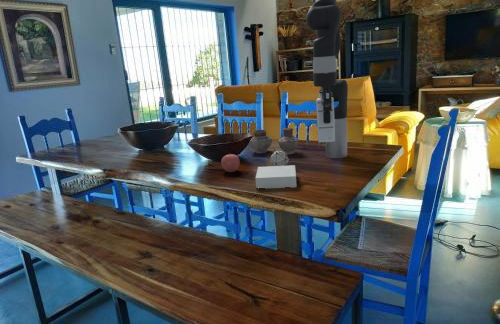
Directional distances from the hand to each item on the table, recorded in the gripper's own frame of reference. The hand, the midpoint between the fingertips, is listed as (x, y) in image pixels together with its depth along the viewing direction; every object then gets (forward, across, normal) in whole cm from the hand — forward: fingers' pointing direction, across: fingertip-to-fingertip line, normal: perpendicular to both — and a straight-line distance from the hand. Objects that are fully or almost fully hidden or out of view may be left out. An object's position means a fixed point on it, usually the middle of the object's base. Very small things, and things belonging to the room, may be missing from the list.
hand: (325, 121), depth 126 cm
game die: (+22, -19, -17) cm, 34 cm away
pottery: (+22, -48, -20) cm, 56 cm away
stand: (+21, -2, -18) cm, 28 cm away
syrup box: (+7, 0, 0) cm, 7 cm away
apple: (+22, -18, -37) cm, 47 cm away
